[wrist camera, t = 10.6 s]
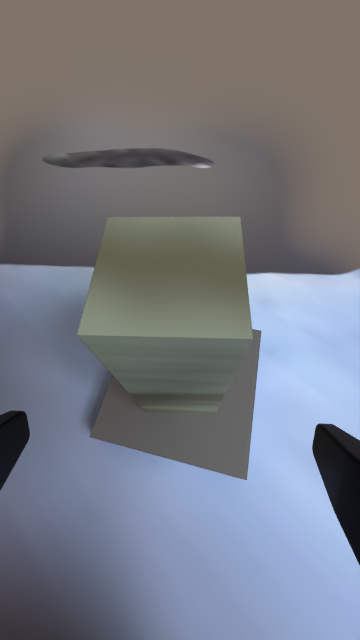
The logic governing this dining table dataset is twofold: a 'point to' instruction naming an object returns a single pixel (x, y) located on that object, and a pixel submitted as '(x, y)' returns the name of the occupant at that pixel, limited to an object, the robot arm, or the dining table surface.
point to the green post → (170, 309)
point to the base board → (188, 424)
